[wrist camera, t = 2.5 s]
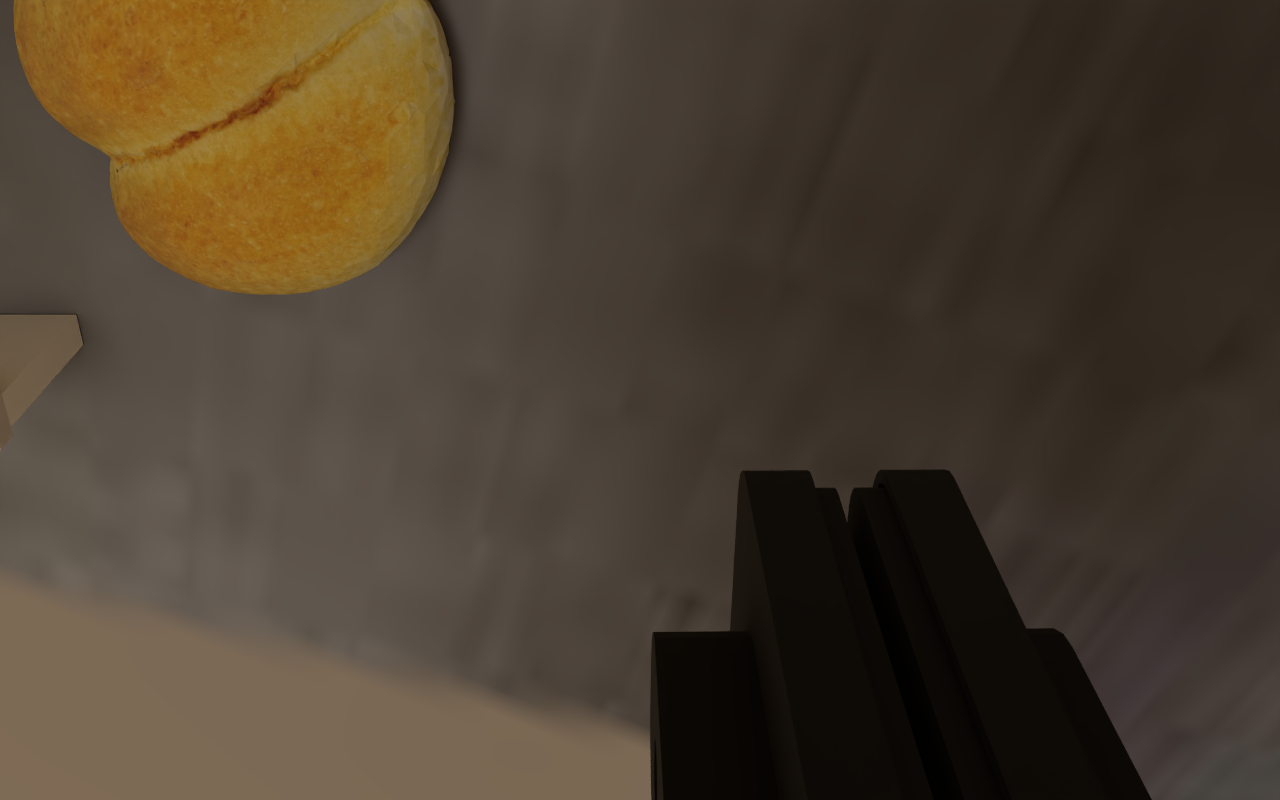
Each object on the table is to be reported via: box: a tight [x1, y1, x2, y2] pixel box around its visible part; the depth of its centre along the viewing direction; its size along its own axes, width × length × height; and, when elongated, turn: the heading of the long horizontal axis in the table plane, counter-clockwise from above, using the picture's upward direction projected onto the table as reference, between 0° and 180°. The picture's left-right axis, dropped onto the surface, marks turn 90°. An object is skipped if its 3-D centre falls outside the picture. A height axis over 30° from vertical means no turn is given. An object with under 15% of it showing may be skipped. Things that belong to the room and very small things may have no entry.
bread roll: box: [14, 0, 455, 294], centre depth 25 cm, size 8×9×4 cm
